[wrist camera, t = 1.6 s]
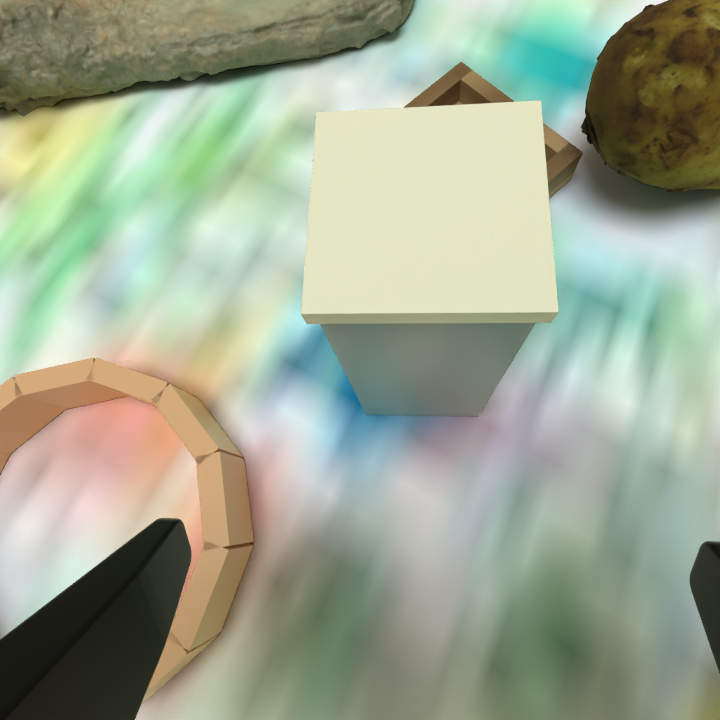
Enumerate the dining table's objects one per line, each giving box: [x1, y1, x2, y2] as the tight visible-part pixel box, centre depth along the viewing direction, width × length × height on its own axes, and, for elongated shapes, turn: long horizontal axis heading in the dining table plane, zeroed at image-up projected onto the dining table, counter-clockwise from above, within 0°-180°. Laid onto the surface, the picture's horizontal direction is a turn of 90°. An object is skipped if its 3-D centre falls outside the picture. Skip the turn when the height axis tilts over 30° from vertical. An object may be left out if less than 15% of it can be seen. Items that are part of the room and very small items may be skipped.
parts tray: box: [404, 62, 583, 198], centre depth 25 cm, size 8×8×2 cm
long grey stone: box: [0, 0, 414, 116], centre depth 30 cm, size 35×5×10 cm
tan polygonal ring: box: [0, 358, 254, 704], centre depth 21 cm, size 14×14×3 cm
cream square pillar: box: [301, 100, 558, 417], centre depth 17 cm, size 5×5×13 cm
